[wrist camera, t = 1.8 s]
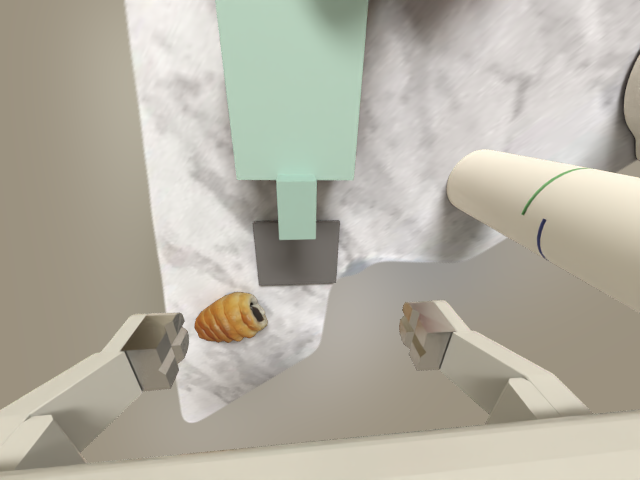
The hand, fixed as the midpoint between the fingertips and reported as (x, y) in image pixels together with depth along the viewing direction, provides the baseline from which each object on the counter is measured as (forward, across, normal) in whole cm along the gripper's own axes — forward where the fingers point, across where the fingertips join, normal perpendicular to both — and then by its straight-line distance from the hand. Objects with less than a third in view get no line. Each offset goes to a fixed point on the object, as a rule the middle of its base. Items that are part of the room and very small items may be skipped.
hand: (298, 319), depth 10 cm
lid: (+15, 0, -6) cm, 16 cm away
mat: (+21, 0, +9) cm, 22 cm away
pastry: (+21, +8, +18) cm, 29 cm away
